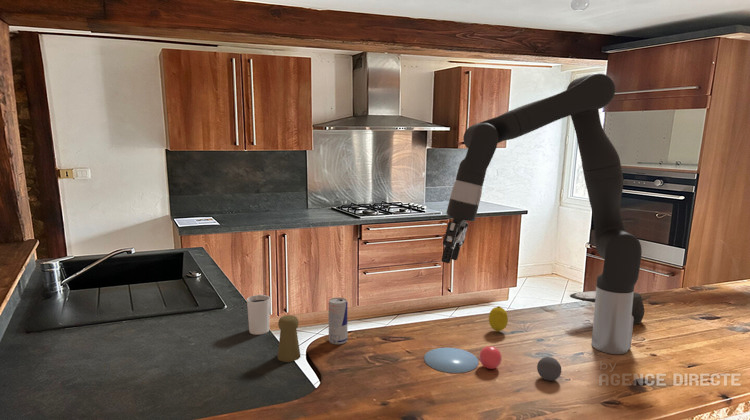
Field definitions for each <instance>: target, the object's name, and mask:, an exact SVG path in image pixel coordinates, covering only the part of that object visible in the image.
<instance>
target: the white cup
mask: <svg viewBox="0 0 750 420" xmlns="http://www.w3.org/2000/svg"><path fill="white" fill-rule="evenodd" d="M246 305H247V318H248V319H247V321H248V329H249V330H248V332H249V333H250V334H252V335H255V336H256V335H259V336H260V335H264V334H267V333H268V332H269V331H270V320H271V319H270V316H271V315H270V313H271V311H270V309H271V308H270V307H271V297H270V296H269V295H267V294H266V295H265V294H257V295H256V294H255V295H251V296H249V297H247V298H246Z"/></svg>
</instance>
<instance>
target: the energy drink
mask: <svg viewBox="0 0 750 420" xmlns="http://www.w3.org/2000/svg"><path fill="white" fill-rule="evenodd" d="M348 310H349V309H348V301H347V299H346V298H344V297H332V298H330V299H329V300H328V342H329V343H330V344H332V345H337V346H338V345H344V344H346V342H348Z"/></svg>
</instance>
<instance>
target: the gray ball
mask: <svg viewBox="0 0 750 420" xmlns="http://www.w3.org/2000/svg"><path fill="white" fill-rule="evenodd" d="M536 370H537V374H538V375H539V376H540V377H541V378H542V379H543V380H545V381H548V382H549V381H551V382H552V381H555V380H558V379H559V378H560V376H561V373H562V367H561V363H560V362H559V361H558V360H557V359H556V358H554V357H552V356H545V357H542V358H541V359H540V360H538V362H537V366H536Z"/></svg>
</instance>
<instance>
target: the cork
mask: <svg viewBox="0 0 750 420" xmlns="http://www.w3.org/2000/svg"><path fill="white" fill-rule="evenodd" d="M277 326H278V329H279V330H280V332H279V338H278V339H279V340H278V350H277V356H276V357H277V360H278V361H280V362H283V363H290V362H296V361H298V360H299V359H300V358H301V352H300V344H299V338H298V337H299V336H298V332H297V330H298V329H297V328H299V319H298V317H297V316H295V315H291V314H287V315H283V316H281V317H280V318H279V319H278V323H277Z"/></svg>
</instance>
